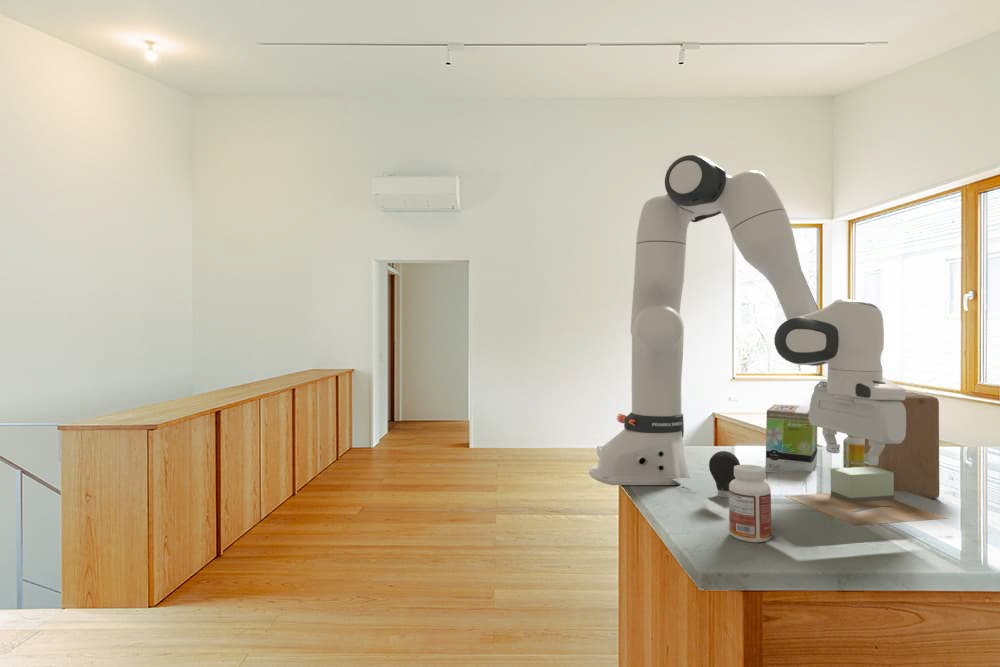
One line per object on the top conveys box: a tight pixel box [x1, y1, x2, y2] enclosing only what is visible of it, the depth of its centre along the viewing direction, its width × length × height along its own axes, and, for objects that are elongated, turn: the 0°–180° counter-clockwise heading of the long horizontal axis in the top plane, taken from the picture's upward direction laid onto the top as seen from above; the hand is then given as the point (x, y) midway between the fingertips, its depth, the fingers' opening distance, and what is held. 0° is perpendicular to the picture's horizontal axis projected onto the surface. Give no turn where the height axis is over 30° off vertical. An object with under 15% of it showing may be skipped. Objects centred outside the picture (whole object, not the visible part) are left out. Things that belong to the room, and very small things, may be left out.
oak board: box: [785, 492, 950, 526], centre depth 103 cm, size 18×17×2 cm
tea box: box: [765, 403, 818, 474], centre depth 137 cm, size 15×10×15 cm
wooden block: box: [865, 391, 940, 500], centre depth 117 cm, size 10×10×20 cm
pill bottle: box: [728, 464, 772, 543], centre depth 92 cm, size 6×6×11 cm
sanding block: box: [830, 467, 895, 502], centre depth 109 cm, size 9×5×5 cm, turn 99°
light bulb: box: [708, 450, 741, 499], centre depth 110 cm, size 6×6×10 cm
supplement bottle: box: [842, 434, 865, 468], centre depth 136 cm, size 5×5×10 cm
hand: (851, 458), depth 109 cm, fingers open, 8 cm apart
